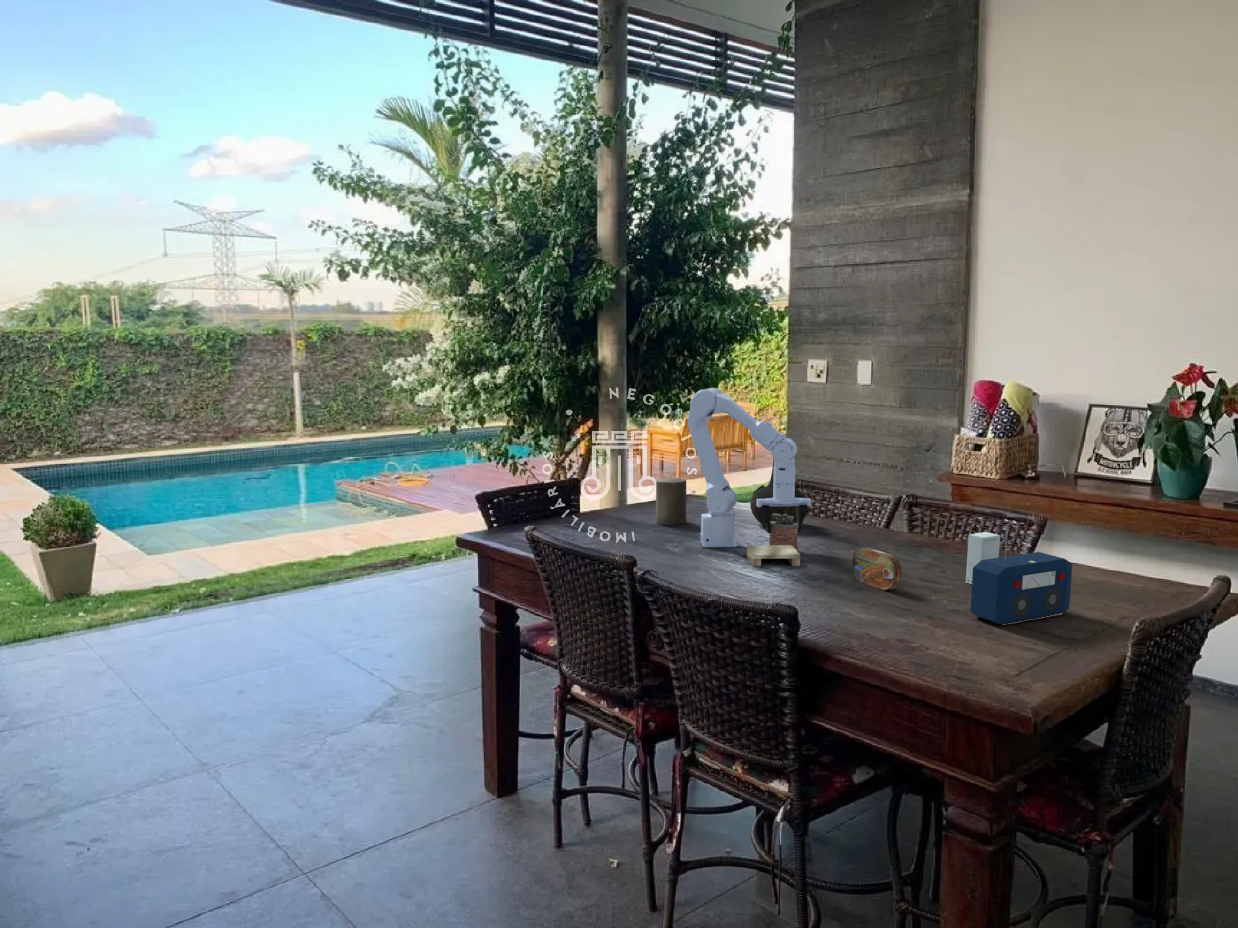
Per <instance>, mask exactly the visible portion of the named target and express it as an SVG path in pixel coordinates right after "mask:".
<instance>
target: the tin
mask: <svg viewBox="0 0 1238 928" xmlns="http://www.w3.org/2000/svg"><path fill="white" fill-rule="evenodd" d="M851 569H852V573H853V575H854V577H855V578H856V580H857V581H858V582H859V583H861V582H862V584H864V583H865V584H864V585H868V586H870V587H873V588H876V589H877V590H880V589H881V591H887V590H889V591H890V590H894V589H895V588H898V586H899V585H900V583H901V579H902V575H903V573H902V565H901V563H900V561H899V559H898V558H897V557H896V556H895V555H893V554H890V553H888V552H885V551H882V550H878V549H874V548H870V547H860V548H858V549H856V550H855V551H854V553H853V555H852V560H851Z"/></svg>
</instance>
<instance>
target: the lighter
mask: <svg viewBox="0 0 1238 928" xmlns="http://www.w3.org/2000/svg"><path fill="white" fill-rule="evenodd" d="M771 519H776V521H771V522H770V527H771V532H770V533H769V545H792V546H793V547H794V548H795V549H796V550H797V551H798V552H799V547H798V533H797V527H798V524H797V523H793V520H794V516H788V515H787V514H783V515H780V514H772V515H771ZM779 519H781V521H779ZM789 520H790V521H789Z"/></svg>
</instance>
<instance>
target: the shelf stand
mask: <svg viewBox="0 0 1238 928" xmlns="http://www.w3.org/2000/svg"><path fill="white" fill-rule="evenodd" d="M746 557H747V559H748V560H749V562H750V564H751V565H752V567H761V566H762V560H764V559H765V560H766V559H769V560H770V559H777V560H778V559H786V560H787V562H788V563H789V564H790V565H791V567H800V566H801V554H800V553H799V550H798V551H797V550H796V549H795V548H794V547H793V546H792V545H770V544H769V545H746Z"/></svg>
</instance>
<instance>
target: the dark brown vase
mask: <svg viewBox="0 0 1238 928" xmlns="http://www.w3.org/2000/svg"><path fill="white" fill-rule="evenodd" d="M785 438H790V437H789V436H786V437H785ZM772 458H773V457H772ZM772 460H773V461H772V468H771V469H772V470H771V476H770V480H769V482H768V484H767V485H766V486H765V485H764V484H763V485H761V486H760V485H759V487H757V488H756V489H755V490H754V491H753V492H752V496H751V498H750V504H749V505H750V506H749V507H750V510H751V513H752V515H753V516H754V518H755V520H756V521H757V522H759V523H760V525H763V526H764V527H766V525H765V521H764V518H763V515H762V513H761V510H760V508H759V507H757V499H766V498H773V482H774V458H773V459H772ZM795 498H807V496H806V495H805V493H804V492H803V491H801V489H799V488H797V487H796V486H795ZM769 507H770V510H771V515H772V514H780V515H783V514H787V515H788V516H794V520H793V523H796V520H797V516H796V506H769ZM808 508H810V506H808ZM807 515H808V513H807V514H806V516H807ZM771 521H776V519H771V518H770V522H771ZM779 521H781V519H779ZM789 521H790V520H789Z"/></svg>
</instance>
